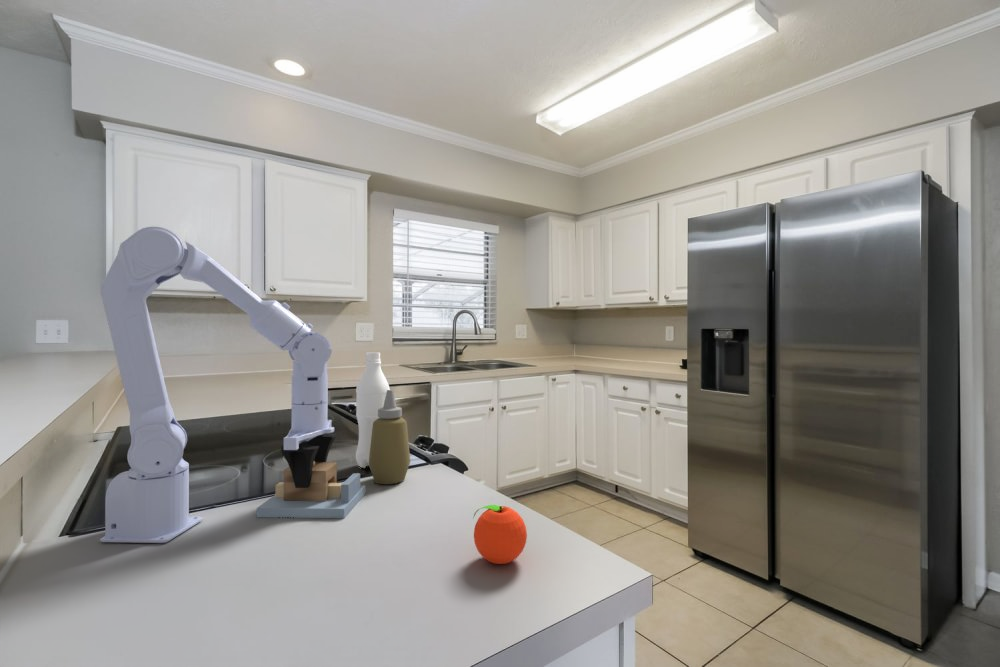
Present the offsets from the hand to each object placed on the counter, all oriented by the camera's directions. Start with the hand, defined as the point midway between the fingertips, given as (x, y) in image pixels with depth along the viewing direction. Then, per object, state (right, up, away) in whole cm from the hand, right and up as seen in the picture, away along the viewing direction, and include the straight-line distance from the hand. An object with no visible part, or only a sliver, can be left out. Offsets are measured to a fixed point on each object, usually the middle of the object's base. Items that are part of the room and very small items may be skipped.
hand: (309, 481), depth 78 cm
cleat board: (+1, -4, 0) cm, 4 cm away
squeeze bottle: (+11, -4, +13) cm, 17 cm away
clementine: (+32, -5, -18) cm, 37 cm away
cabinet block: (0, -2, 0) cm, 2 cm away
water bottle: (+5, -4, +22) cm, 23 cm away
